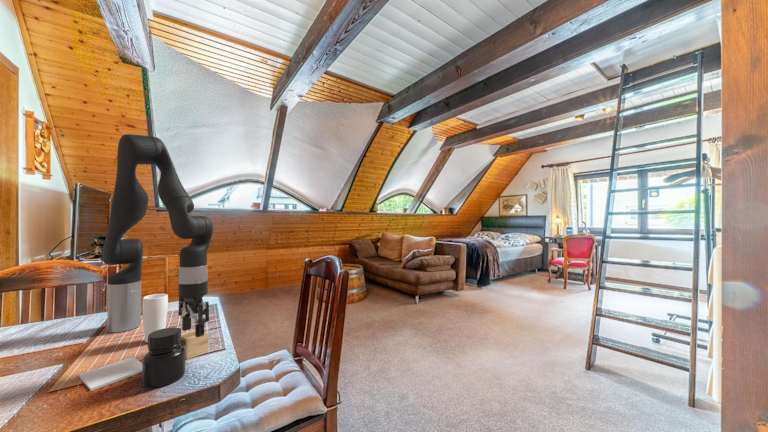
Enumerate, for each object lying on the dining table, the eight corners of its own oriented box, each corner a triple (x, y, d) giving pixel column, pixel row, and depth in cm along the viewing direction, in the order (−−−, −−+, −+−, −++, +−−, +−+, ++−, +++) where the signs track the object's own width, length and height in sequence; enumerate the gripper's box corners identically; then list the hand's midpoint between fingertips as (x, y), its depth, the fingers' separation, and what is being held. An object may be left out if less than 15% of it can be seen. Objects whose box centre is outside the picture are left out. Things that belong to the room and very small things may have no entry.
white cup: (153, 345, 91) (153, 299, 91) (136, 343, 92) (136, 298, 92) (172, 337, 97) (173, 294, 98) (156, 335, 99) (157, 292, 99)
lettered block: (176, 354, 86) (176, 335, 86) (200, 346, 91) (200, 327, 91) (185, 360, 82) (186, 339, 82) (209, 351, 88) (209, 332, 88)
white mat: (78, 376, 73) (78, 374, 73) (132, 358, 83) (132, 356, 83) (90, 391, 67) (90, 388, 67) (147, 370, 77) (147, 367, 77)
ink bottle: (181, 365, 80) (182, 322, 80) (191, 376, 74) (192, 331, 74) (136, 380, 72) (136, 333, 72) (144, 394, 66) (144, 343, 66)
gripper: (169, 279, 87) (168, 332, 87) (190, 285, 80) (190, 343, 79) (195, 275, 94) (195, 324, 93) (218, 280, 86) (217, 333, 86)
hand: (193, 333), depth 86 cm, fingers open, 8 cm apart
